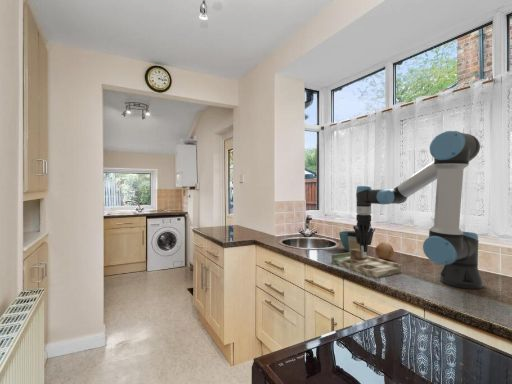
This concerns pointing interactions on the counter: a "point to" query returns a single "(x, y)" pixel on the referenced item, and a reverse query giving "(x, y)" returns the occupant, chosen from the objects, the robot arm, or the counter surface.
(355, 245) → the coffee cup
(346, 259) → the compartment tray
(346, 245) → the plant pot
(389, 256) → the onion
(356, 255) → the block
